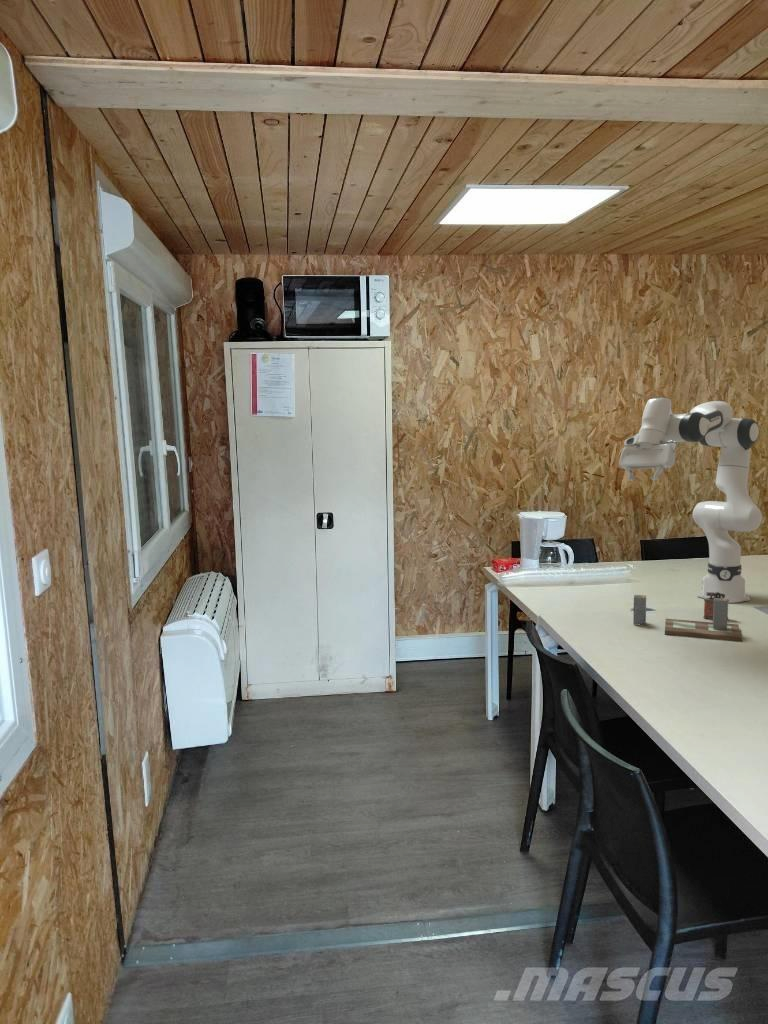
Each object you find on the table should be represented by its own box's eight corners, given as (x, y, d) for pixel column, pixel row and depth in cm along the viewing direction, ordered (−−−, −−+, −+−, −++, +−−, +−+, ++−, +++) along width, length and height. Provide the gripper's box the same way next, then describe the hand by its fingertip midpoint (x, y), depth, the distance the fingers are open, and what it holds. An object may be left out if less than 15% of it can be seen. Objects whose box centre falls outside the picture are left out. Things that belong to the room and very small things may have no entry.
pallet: (665, 622, 236) (665, 618, 236) (738, 628, 227) (738, 623, 227) (664, 634, 224) (664, 629, 224) (741, 641, 214) (741, 636, 214)
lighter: (726, 618, 239) (727, 591, 238) (729, 620, 236) (730, 593, 235) (702, 617, 241) (703, 590, 240) (704, 619, 238) (705, 592, 237)
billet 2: (712, 626, 226) (713, 597, 224) (726, 627, 224) (727, 597, 223) (713, 629, 222) (714, 600, 221) (726, 630, 220) (727, 601, 219)
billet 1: (634, 621, 239) (634, 594, 238) (645, 622, 237) (646, 595, 236) (633, 624, 235) (633, 597, 234) (645, 625, 234) (645, 597, 232)
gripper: (683, 442, 219) (675, 482, 217) (632, 446, 236) (623, 483, 235) (671, 436, 216) (663, 476, 214) (620, 440, 233) (612, 477, 231)
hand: (642, 480), depth 224 cm, fingers open, 8 cm apart
